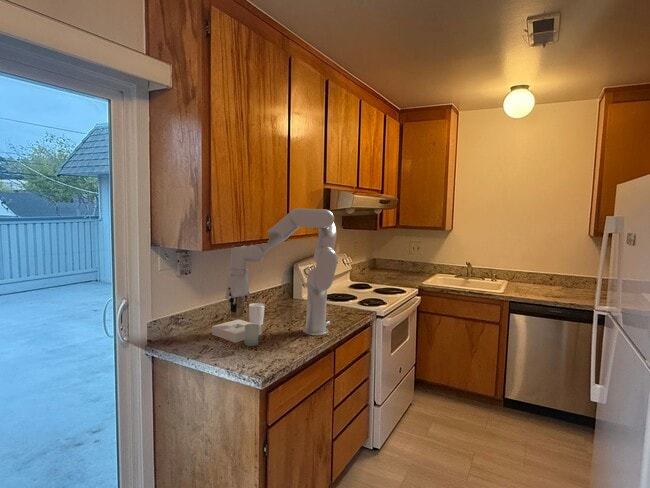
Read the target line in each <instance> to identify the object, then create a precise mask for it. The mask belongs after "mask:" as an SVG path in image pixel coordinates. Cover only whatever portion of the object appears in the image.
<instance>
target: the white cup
mask: <svg viewBox="0 0 650 488" xmlns="http://www.w3.org/2000/svg"><path fill="white" fill-rule="evenodd" d="M265 308H266V307H265V304H264V303H261V302H253V303H249V305H248V316H249V318H248V319H249V322H250V323H253V324H257V325H260V326H262V325H264V315H265Z"/></svg>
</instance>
